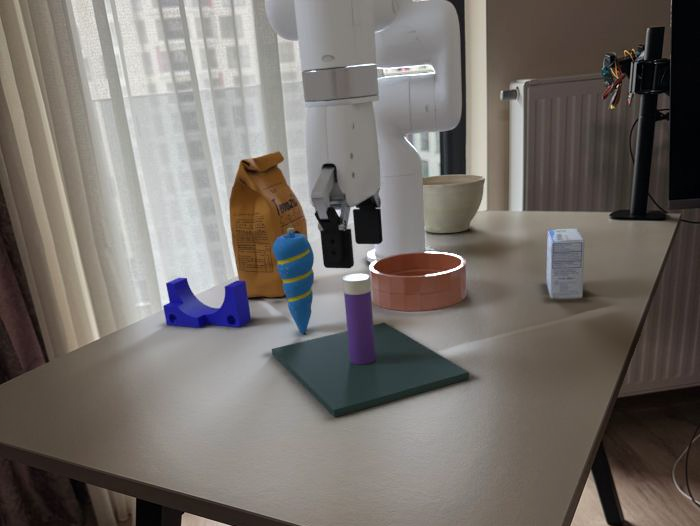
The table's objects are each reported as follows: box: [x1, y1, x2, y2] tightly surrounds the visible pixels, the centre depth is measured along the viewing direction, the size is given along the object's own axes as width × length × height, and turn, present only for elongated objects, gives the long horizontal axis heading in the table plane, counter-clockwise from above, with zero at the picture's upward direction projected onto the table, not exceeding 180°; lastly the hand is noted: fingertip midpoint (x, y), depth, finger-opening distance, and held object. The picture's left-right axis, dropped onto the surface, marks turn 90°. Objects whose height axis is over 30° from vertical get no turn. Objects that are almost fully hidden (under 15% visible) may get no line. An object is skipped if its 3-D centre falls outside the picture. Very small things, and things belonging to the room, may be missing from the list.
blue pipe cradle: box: [162, 277, 252, 329], centre depth 95 cm, size 12×4×6 cm, turn 65°
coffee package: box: [229, 150, 309, 299], centre depth 104 cm, size 10×12×22 cm
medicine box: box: [545, 228, 585, 299], centre depth 93 cm, size 8×4×9 cm, turn 168°
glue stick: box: [342, 273, 376, 365], centre depth 74 cm, size 3×3×10 cm
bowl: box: [368, 251, 468, 312], centre depth 97 cm, size 14×14×6 cm
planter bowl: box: [423, 174, 486, 234], centre depth 140 cm, size 16×16×11 cm
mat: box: [271, 322, 470, 418], centre depth 76 cm, size 20×16×1 cm
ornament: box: [273, 224, 315, 335], centre depth 85 cm, size 5×5×15 cm
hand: (355, 254), depth 72 cm, fingers open, 9 cm apart
